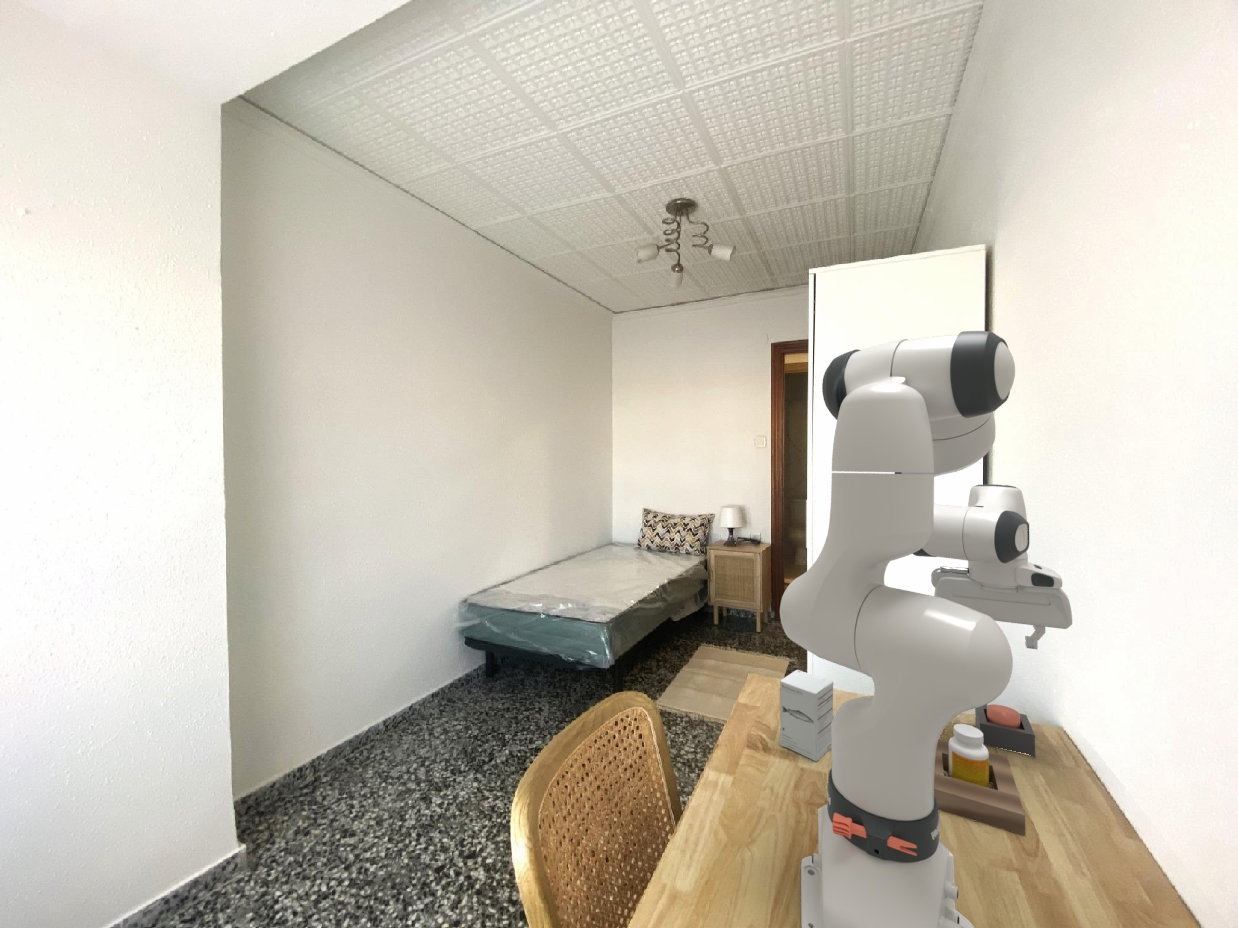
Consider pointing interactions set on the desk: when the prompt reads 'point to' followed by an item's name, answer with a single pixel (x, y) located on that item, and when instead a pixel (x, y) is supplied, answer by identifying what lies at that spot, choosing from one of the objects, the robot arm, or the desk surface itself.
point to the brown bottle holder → (980, 793)
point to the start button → (1003, 716)
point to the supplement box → (806, 714)
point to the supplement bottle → (968, 756)
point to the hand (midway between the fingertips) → (998, 643)
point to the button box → (1006, 733)
